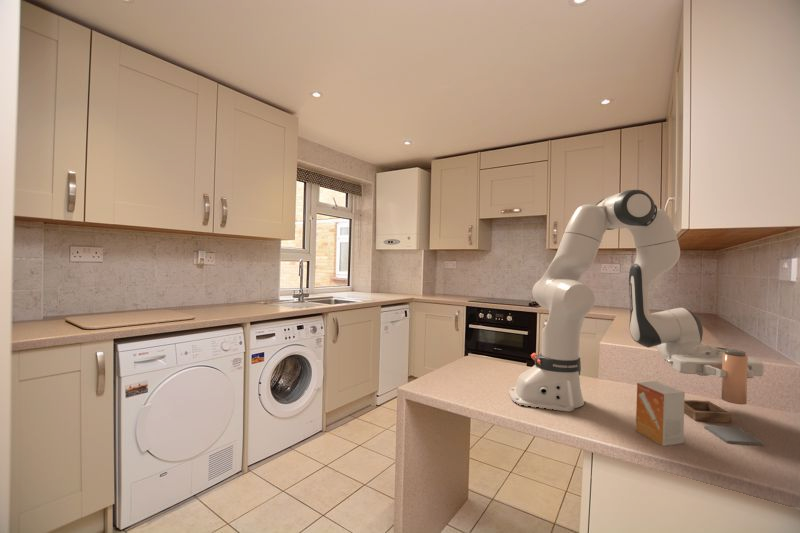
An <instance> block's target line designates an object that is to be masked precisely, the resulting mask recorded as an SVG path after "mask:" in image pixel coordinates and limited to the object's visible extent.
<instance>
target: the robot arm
mask: <svg viewBox="0 0 800 533" xmlns="http://www.w3.org/2000/svg"><path fill="white" fill-rule="evenodd" d="M617 229H627V230H628V231H629V232H630V233H631V234H632V237H633V240H634V245H635V252H636V256H635V261H634V263H633V265H631V266H630V268H629V271H628V272H629V273H628V289H629V290H628V291H629V292H628V293H629V309H630V311H629V312H630V316H629V334H630V337H631V338H632V340H633V341H635V343H637V344H639V345H641V346H643V347H646V348H653V347H656V348H657V350H658V352H659V354H660V355H661V356H662V357H663V358H664V362H666V363H668V364H670V366H671V368H672V369H674V370H675V371H676V372H678V373H679V374H684V375H697V376H699V377H700V376H701V377H706V376H716V377H718V378H722V377H727V375H726V374H727V372H726V370H723V369H722V352H724V351H725V349H728V348H724V347H717V346H712V345H709V344H704V343H702V342H703V334H704V333H703V332H704V329H703V324H702V322H701V320H700V318H699V317H698V316H697V315H696V313H694V312H692V311H691V310H689V309H688V308H685V307H681V306H680V307H677V308H676V307H675V308H672V309H665V310H662V311H661V310H660V311H657V312H653V313H652V312H651V313H650V306H649V288H650V285H651V284H652V283H653V282H654V280H656V279H657V278H658V277H660V276H661V275H663V274H665V273H667V272H668V271H670V270H671V269H672V268H673V267H674V266H675V265H676V264H677V263H678V261H679V260H680V257H681V247H680V243H679V239H678V236H677V232H676V229H675V226H674V223H673V222H672V219H671V218H670V215H669V214H668V212H667V211H665V210H664V209H661V208H658V206H657V205H656V204H655V201H654V200H653V197H652V196H651V195H650V194H649V193H648V192H646V191H644V190H641V189H628V190H625V191H623V192H619V193H614V194H612V195H609V196H608V197H606V198H603V199H602V200H599V201H598V202H597V203H596V204H590V203H588V204H586V203H585V204H582V205H580V206H578V207H577V208H576V209H575V210H574V213H572V215H571V217H570V218H569V221H568V223H567V225H566V227H565V230H564V233H563V235H562V238H561V240H560V242H559V243H560V244H559V245H558V248H557V251H556V253H555V255H554V258H553V259H552V261H551V263H550V264H549V266H548V267H547V269H546V270H545V272H544V274H543V275H542V277H541V278H540V279H538V281H536V282H535V284H534V285H533V287H532V292H531V294H532V298H533V300H534V301H535V302H536V303H537V304H538V305H539V306H540V307H542V308H543V309H545V310H548V317H547V321H546V324H545V325H544V327H543V328H542V330H541V352H540V354H537V353H536V352H533V353H532V354H530V357H531V359H532V360H533V361H534V364H533V366H531V367H530V368H528V369H526V370H525V371H524V372H522V373H520V374H519V375H518V377H517V380H516V385H515V386H513V387H510V388H509V393H508V395H509V394H510V395H509V397H511V398H510V400H511V401H512V400H513V401H514V403H515V402H516V403H517V405H518V404H519V405H518V406H521V405H524V406H523V407H528V406H531V407H530V408H536V407H539V408H538V409H544V408H546V409H545V410H552V409H553V411H554V410H555V411H562V412H573V411H574V410H575V409H578V408H581V407H582V406H584V405H585V401H584V397H583V394H582V389H581V381H580V380H581V379H580V375H581V371H582V363H581V357H580V336H581V329H582V326H583V322H584V320H585V318H586V316H587V314H588V313H589V312H591V311H592V309H593V308H594V305H595V302H596V300H595V299H596V298H595V293H594V291H593V290H592V289H591V287H589V286H588V285H586V284H585V283H583V282H580V280H581V278H582V277H583V275H584V274H585V273H586V272H588V271H590V269H591V268H592V267H593V265H594V262H595V259H596V256H597V254H598V251H599V249H600V246H601V243H602V240H603V236H604V234H605V233H606V231H611V230H612V231H613V230H617ZM764 370H765V369H764V363H763V362H762V361H760V360H758V359H756V358H753V357H751V356H748V373H747V379H754V378H755V377H763V375H764ZM513 401H512V402H513ZM516 403H515V404H516Z"/></svg>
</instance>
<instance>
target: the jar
mask: <svg viewBox="0 0 800 533" xmlns="http://www.w3.org/2000/svg"><path fill="white" fill-rule="evenodd" d="M748 357H749V356H748V355H747V353H746V351H743V350H740V349H732V348H727V349H725V351H724V352H722V369H723V370H726V372H727V374H726V375H727V377H721V398H720V399H721V400H722V401H723V402H727V403H730V404H733V405H739V406H740V405H744V406H745V405H747V403H748V402H747V401H748V378H747V373H748Z"/></svg>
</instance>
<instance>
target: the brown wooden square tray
mask: <svg viewBox="0 0 800 533" xmlns="http://www.w3.org/2000/svg"><path fill="white" fill-rule="evenodd" d="M684 415H686V416H688V417H690V419H692V420H694V421H695V422H713V423H715V422H717V423H732V417H733V414H732V413H731V412H729V411H728V410H726V409H724V408H722V407H720V406H718V405H717V404H714V403H713V402H711V401H710V400H698V399H697V400H695V399H684Z"/></svg>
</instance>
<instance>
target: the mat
mask: <svg viewBox="0 0 800 533" xmlns="http://www.w3.org/2000/svg"><path fill="white" fill-rule="evenodd" d="M704 429H705V430H707V431H708V432H710V433H711V434H713V435H715V436H716V437H717V438H719V439H720V440H722V441H723V442H724V443H726V444H738V445H752V446H753V445H755V446H757V445H758V446H763V445H764V442H763V441H761V440H759V439H757V438H756V437H755V436H752V435H751V434H749V433H748V432H746V431H745V430H742V429H741V428H739V427H736V426H718V425H704Z"/></svg>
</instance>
